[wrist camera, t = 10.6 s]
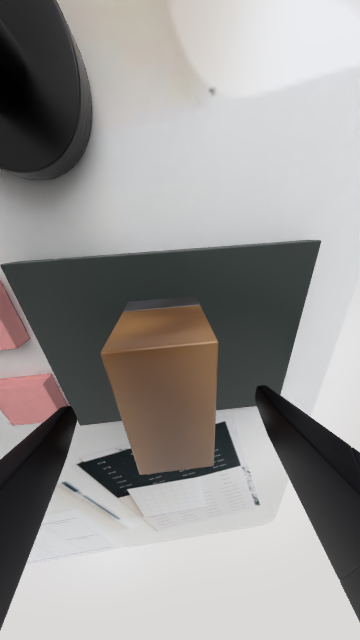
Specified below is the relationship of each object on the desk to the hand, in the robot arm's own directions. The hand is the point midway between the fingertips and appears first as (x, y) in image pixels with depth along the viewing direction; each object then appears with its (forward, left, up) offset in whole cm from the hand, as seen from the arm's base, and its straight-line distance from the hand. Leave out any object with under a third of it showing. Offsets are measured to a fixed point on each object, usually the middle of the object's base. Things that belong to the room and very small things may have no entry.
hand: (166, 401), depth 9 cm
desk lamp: (+5, -13, -5) cm, 15 cm away
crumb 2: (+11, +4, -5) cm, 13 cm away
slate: (-1, 0, -5) cm, 5 cm away
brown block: (0, 0, -4) cm, 4 cm away
